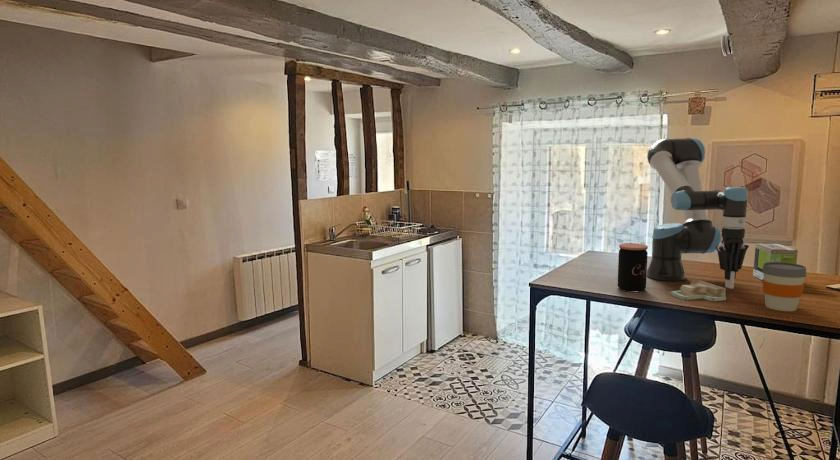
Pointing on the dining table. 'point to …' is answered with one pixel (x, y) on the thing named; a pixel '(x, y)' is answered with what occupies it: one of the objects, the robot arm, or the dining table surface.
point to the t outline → (695, 296)
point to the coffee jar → (632, 267)
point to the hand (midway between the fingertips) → (729, 287)
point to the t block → (702, 289)
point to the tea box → (772, 256)
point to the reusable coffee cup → (783, 285)
